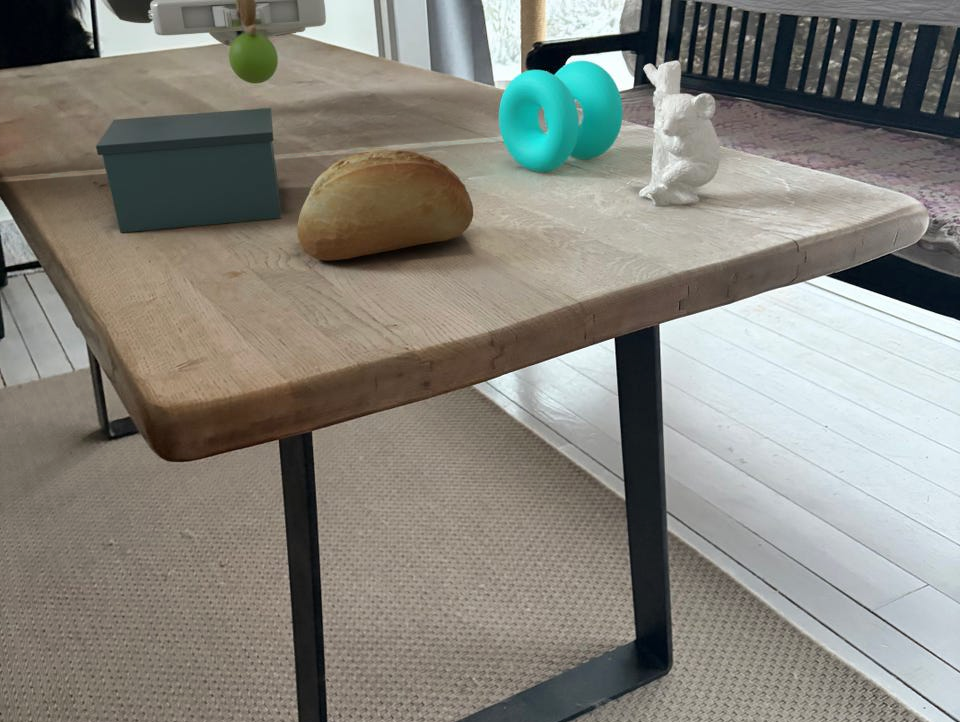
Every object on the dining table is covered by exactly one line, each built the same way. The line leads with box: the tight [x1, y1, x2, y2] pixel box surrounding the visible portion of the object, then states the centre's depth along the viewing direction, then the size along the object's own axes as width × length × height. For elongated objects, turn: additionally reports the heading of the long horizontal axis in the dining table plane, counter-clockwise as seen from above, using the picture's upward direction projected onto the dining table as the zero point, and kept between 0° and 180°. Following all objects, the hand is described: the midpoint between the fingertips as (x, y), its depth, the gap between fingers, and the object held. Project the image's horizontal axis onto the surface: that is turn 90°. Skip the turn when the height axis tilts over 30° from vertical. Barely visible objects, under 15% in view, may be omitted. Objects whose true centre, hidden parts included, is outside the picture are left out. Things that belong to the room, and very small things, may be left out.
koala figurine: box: [638, 60, 722, 207], centre depth 85 cm, size 8×7×12 cm
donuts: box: [498, 60, 624, 173], centre depth 100 cm, size 10×10×10 cm
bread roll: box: [296, 149, 474, 261], centre depth 77 cm, size 10×15×8 cm, turn 114°
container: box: [95, 107, 282, 234], centre depth 90 cm, size 15×12×8 cm
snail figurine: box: [228, 0, 279, 84], centre depth 107 cm, size 5×6×12 cm
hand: (246, 17), depth 108 cm, fingers closed on snail figurine
